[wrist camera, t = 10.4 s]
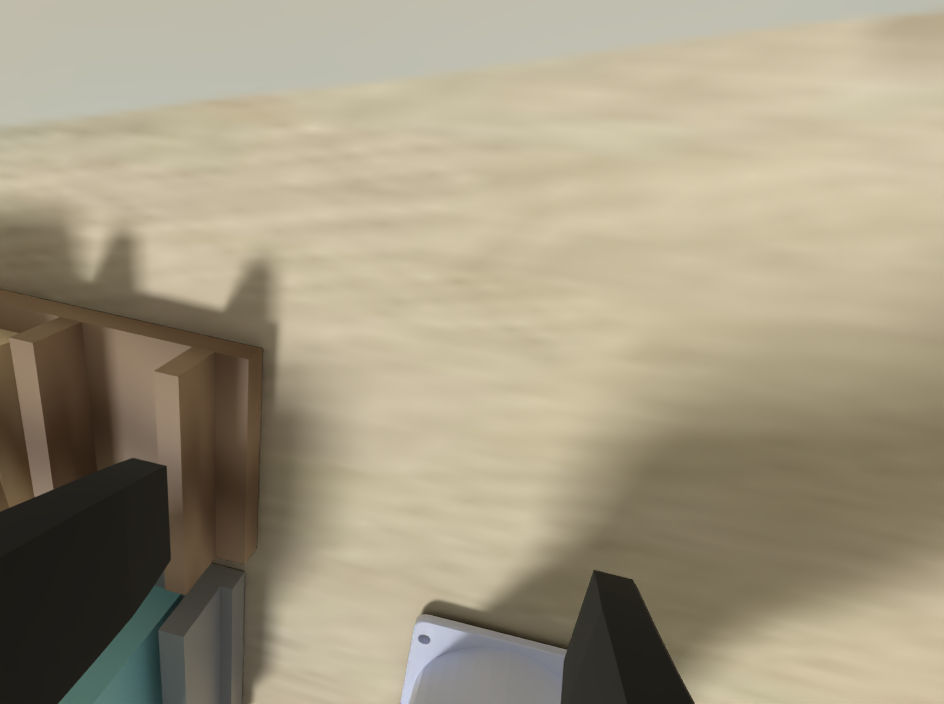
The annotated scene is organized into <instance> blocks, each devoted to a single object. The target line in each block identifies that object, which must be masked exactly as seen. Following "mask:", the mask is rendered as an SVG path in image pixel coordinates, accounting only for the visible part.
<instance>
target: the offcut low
mask: <svg viewBox="0 0 944 704" xmlns="http://www.w3.org/2000/svg"><path fill="white" fill-rule="evenodd" d="M16 334H19V333H16V332H12V331H7V330H3V329H0V481H1V484H2V487H3V490H4V493H5V496H6V499H7V502H8V505H9V508H10V507H13V506H15V505H17V504H20V503H22V502H25V501H27V500H29V499H32V498H34V492H33V485H32V479H31V473H30V467H29V460H28V454H27V448H26V441H25V435H24V429H23V422H22V416H21V410H20V403H19V397H18V391H17V385H16V378H15V372H14V366H13V359H12V353H11V347H10V340H9V337H12V336H14V335H16Z"/></svg>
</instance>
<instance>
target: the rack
mask: <svg viewBox="0 0 944 704" xmlns="http://www.w3.org/2000/svg"><path fill="white" fill-rule="evenodd" d="M0 329H3V330H7V331H12V332H16V333H19V334H16V335H14V336H12V337H9V340H10V347H11V353H12V359H13V366H14V372H15V378H16V385H17V391H18V397H19V403H20V410H21V416H22V422H23V429H24V435H25V441H26V448H27V454H28V460H29V467H30V473H31V479H32V485H33V492H34V497H37V496H39V495H41V494H44V493H46V492H49V491H51V490H53V489H56V488H58V487H60V486H63V485H65V484H68V483H70V482H72V481H75V480H77V479H80V478H82V477H84V476H87V475H89V474H92V473H94V472H96V471H99V470H101V469H104V468H106V467H109V466H112V465H114V464H117V463H119V462H122V461H125V460H128V459H131V458H136V459H140V460H145V461H149V462H153V463H157V464H161V465H165V466H167V482H168V504H169V526H170V548H171V561H170V562H169V564H168V565H167V567H166V568H165V570H164V577H165V590H167V591H171V592H175V593H179V594H183V595H186V594H187V593H188V592H189V590H190V589H191V588H192V587H193V585H194V584H195V583H196V582H197V580H198V579H199V578H200V577H201V575H202V574H203V573H204V571H205V570H206V569H207V568H208V566H209V565H210V564H211V563H212V561H213V560H214V559H215V558H216V557H217V558H221V559H225V560H229V561H233V562H237V563H241V564H245V563H246V562H247V560H248V559H249V557H250V556H251V555H252V553H253V552H254V550H255V549H256V548H257V525H258V492H259V459H260V426H261V393H262V360H263V349H262V348H258V347H254V346H249V345H245V344H240V343H236V342H231V341H227V340H223V339H218V338H214V337H209V336H205V335H200V334H196V333H192V332H187V331H183V330H178V329H174V328H169V327H165V326H161V325H156V324H152V323H147V322H143V321H138V320H134V319H129V318H125V317H121V316H116V315H112V314H107V313H103V312H98V311H94V310H90V309H85V308H81V307H76V306H72V305H67V304H63V303H59V302H54V301H50V300H45V299H41V298H36V297H32V296H28V295H23V294H19V293H14V292H10V291H5V290H1V289H0Z"/></svg>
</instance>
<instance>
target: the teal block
mask: <svg viewBox="0 0 944 704" xmlns="http://www.w3.org/2000/svg"><path fill="white" fill-rule="evenodd" d="M181 601H182V594H179V593H175V592H171V591H167V590H165V588H162V587H158V586H154V587H153V588H152V590H151V591H150V593H149V594H148V596H147V597H146V598H145V600H144V601H143V603H142V604H141V606H140V607H139V608H138V610H137V611H136V613H135V614H134V616H133V617H132V618H131V619H130V620H129V622H128V623H127V624H126V625H125V626H124V628H123V629H122V630H121V631H120V632H119V634H118V635H117V636H116V637H115V638H114V639H113V641H112V642H111V643H110V644H109V645H108V647H107V648H106V649H105V650H104V651H103V652H102V654H101V655H100V656H99V657H98V658H97V659H96V661H95V662H94V663H93V664H92V665H91V666H90V668H89V669H88V670H87V671H86V672H85V673H84V675H83V676H82V677H81V678H80V679H79V680H78V681H77V683H76V684H75V685H74V686H73V687H72V688H71V690H70V691H69V692H68V693H67V694H66V695H65V696H64V698H63V699H62V700H61V701H60V702H59V703H58V704H163V700H162V684H161V668H160V651H159V635H158V630H159V629H160V627H161V626H162V625H163V624H164V622H165V621H166V620H167V619H168V617H169V616H170V615H171V613H172V612H173V611H174V610H175V608H176V607H177V606H178V605H179V603H180V602H181Z"/></svg>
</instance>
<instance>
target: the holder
mask: <svg viewBox="0 0 944 704" xmlns="http://www.w3.org/2000/svg"><path fill="white" fill-rule="evenodd" d="M244 584H245V572H243V571H240V570H236V569H232V568H228V567H224V566H220V565H216V564H212V563H211V564H210V565H209V566H208V568H207V569H206V570H205V571H204V573H203V574H202V575H201V577H200V578H199V579H198V580H197V582H196V583H195V584H194V585H193V587H192V588H191V589H190V590H189V592H188V593H187V594H186V595H183V594H182V601H181V602H180V603H179V605H178V606H177V607H176V608H175V610H174V611H173V612H172V613H171V615H170V616H169V617H168V619H167V620H166V621H165V622H164V624H163V625H162V626H161V627H160V629H159V630H158V635H159V651H160V668H161V684H162V700H163V704H242V683H243V634H244ZM154 586H158V587H162V588H165V577H164V571H163V573H162V574H161V576H160V578H159V579H158V581H157V582H156V584H155V585H154Z"/></svg>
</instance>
